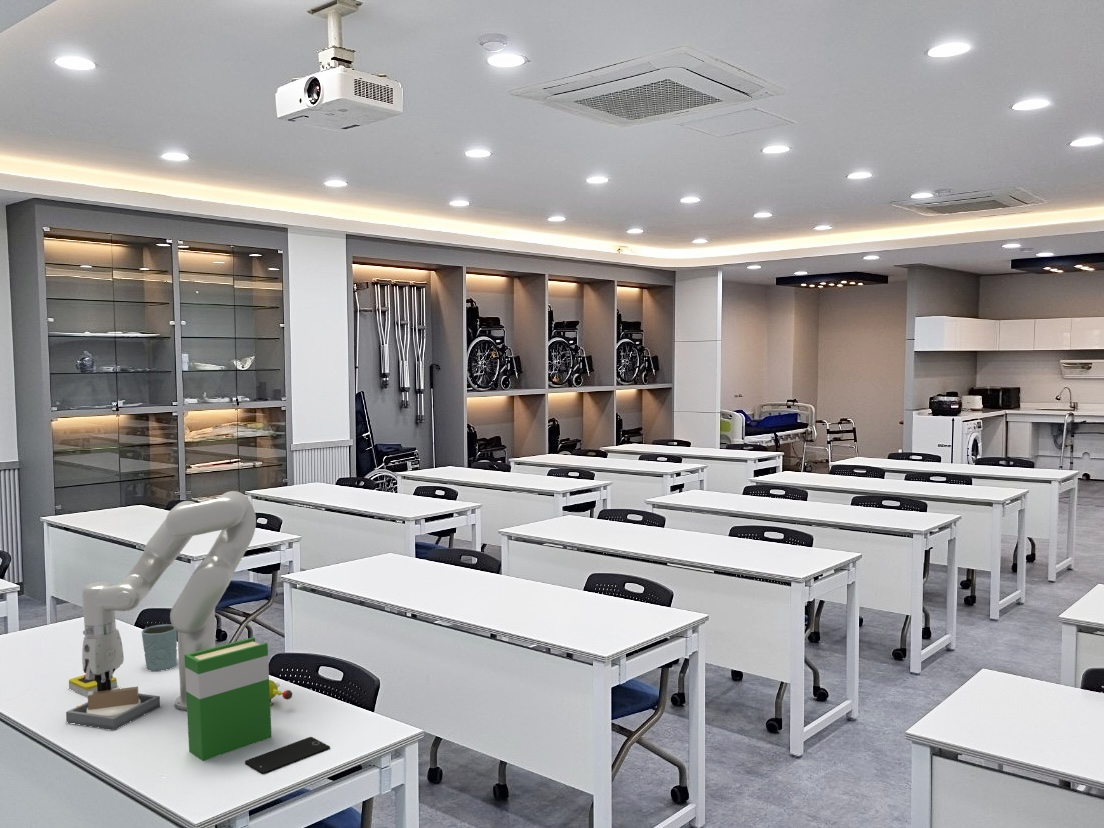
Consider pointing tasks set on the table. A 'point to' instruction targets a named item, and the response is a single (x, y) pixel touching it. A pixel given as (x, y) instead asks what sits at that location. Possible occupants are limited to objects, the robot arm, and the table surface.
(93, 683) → the emergency button
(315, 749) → the cell phone
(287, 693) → the toy figure
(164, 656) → the teal cup
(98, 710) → the dial
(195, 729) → the hardback book
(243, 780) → the table surface
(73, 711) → the dial housing
